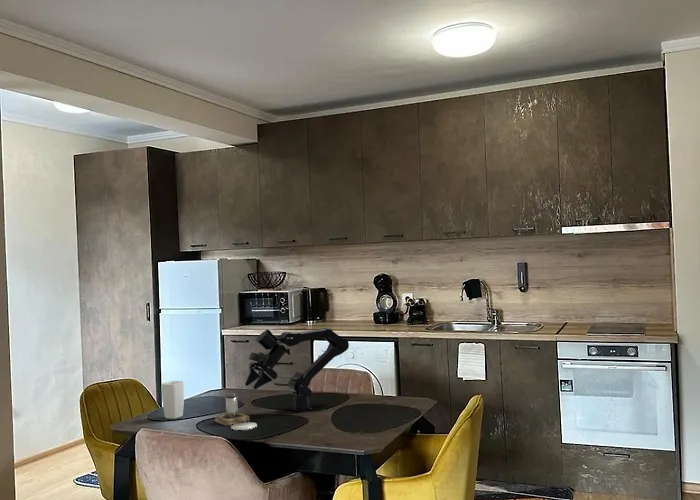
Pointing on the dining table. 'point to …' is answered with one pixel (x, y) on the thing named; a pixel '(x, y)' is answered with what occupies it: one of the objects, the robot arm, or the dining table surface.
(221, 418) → the oak collar
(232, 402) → the glass jar
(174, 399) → the cup
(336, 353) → the robot arm
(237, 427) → the disc
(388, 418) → the dining table surface
